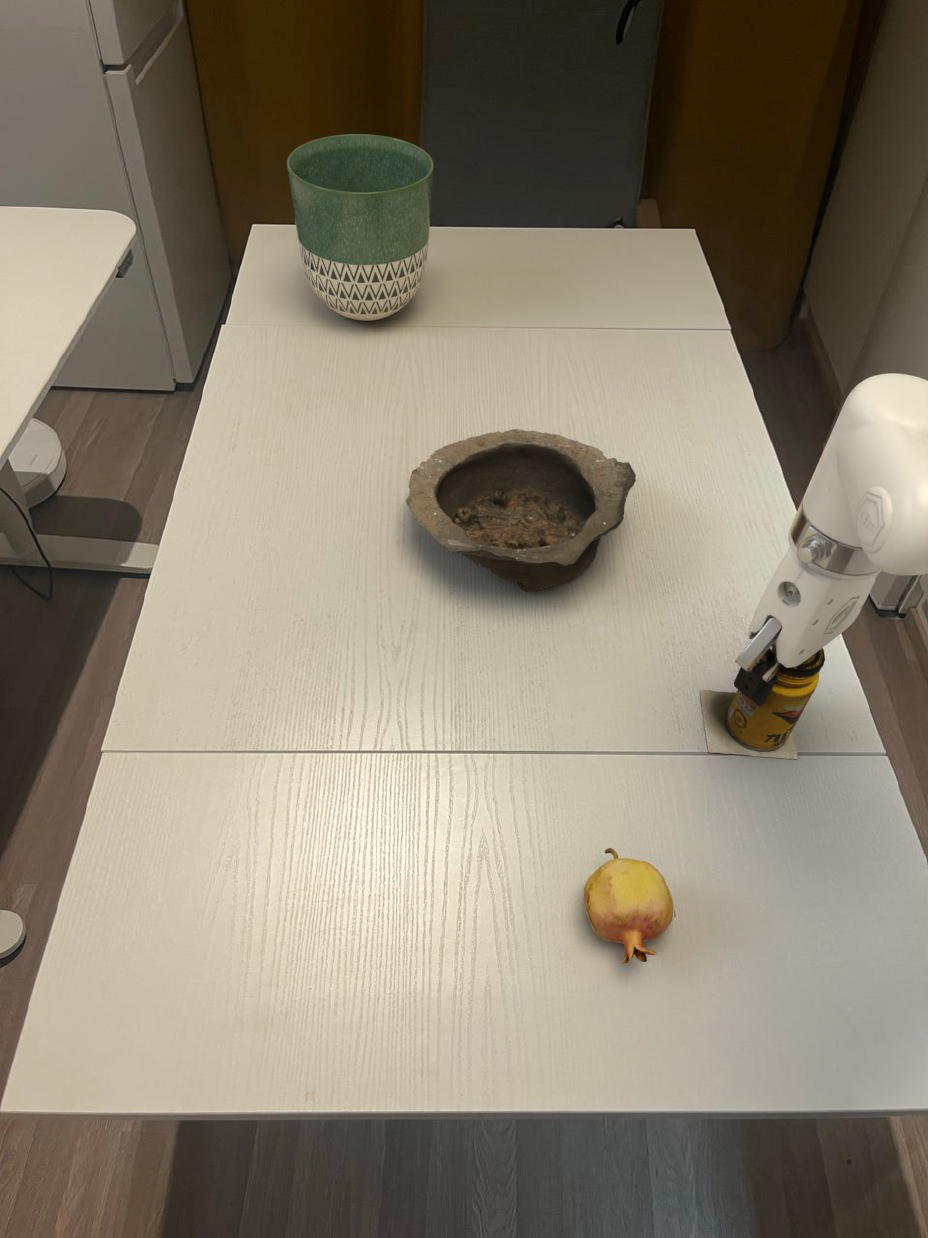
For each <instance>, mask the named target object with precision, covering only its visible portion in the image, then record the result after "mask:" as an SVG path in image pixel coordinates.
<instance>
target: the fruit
mask: <svg viewBox="0 0 928 1238" xmlns="http://www.w3.org/2000/svg"><path fill="white" fill-rule="evenodd" d="M607 854H611V855H612V856H613V858H612V859H610V860H608V861H606V862H605V863H603V864H602V865H600V866H599V867H598V868H597V869H596V870H595V871H594V872H593V873H592V874H591V875H590V876H589V877H588V878H587V880H586V882H585V884H584V887H583V904H584V909H585V913H586V916H587V918H588V921H589V924H590V926H591V929H592V931H593V932H594V933H595V935H596V936H597V937H598V938H600V939H601V940H603V941H608V942H611V943H616V944H623V946H624V958H623V959H622V960H621V961H620V964H621V965H623V964H625V965H626V964H629V962H631V961H632V959H633V958H634V956H635V958H636V959H637V960H638V961H640V962H642V963H646V962H648V956H655V955H657V952H656V951H653V950H650V949H648V948H645V947H644V943H643V942H648V941H651V940H654V939H655V938H657V937H659V936H660V935H662V934H663V933H664V932H666V931H667V929H668V928H669V926H670V925H671V923H672V921H673V917H674V900H673V896H672V893H671V892H670V890H669V887H668V885H667V882H666V879H665V878H664V876H663V875H662V874H661V872H660V871H659V870H658V869H657V868H656V867H655V866H654V865H652V864H651V863H650V862H648V861H644V860H640V859H633V858H625V857H623V858H622V857H619V855H618V852H617V851H616V850H615V849H614V848H611V847H608V848H606V849H605V850H604V855H607ZM647 955H648V956H647Z"/></svg>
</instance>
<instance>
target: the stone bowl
mask: <svg viewBox="0 0 928 1238" xmlns="http://www.w3.org/2000/svg"><path fill="white" fill-rule="evenodd" d="M636 477H637V475H636V473H635V471H634V469H633V467H632V465H631V463H630V461H629V462H628V461H627V462H625V461H624V462H622V461H619V460H618V459H617V458H615V457H611V458H607V457H606V456H605V454H604V451H602V450H601V449H599V448H598V447H595V446H592V445H588V444H585V443H583V442H580V441H578V440H574V439H570V438H568V437H566V436H562V435H560V434H557V433H550V432H547V431H546V432H541V431H536V430H524V429H521V428H520V429H518V428H515V429H509V430H505V431H503V432H502V431H495V432H487V433H484V434H480V435H475V436H470V437H467V438H466V439H463V440H458V441H455V442H452V443H450V444H447V445H444V446H442V447H440V448H438V449H436V450H434V452H433V453H432V454H430V455H429V458H427V459H426V461H421V462H420V463H419V466H417V467H416V468H415V469H413V470H412V471H411V474H410V477H409V480H408V488H409V493H408V496H407V498H406V499H405V503H406V506H407V507H408V509H409V511H410V512H411V513H412V515H413V516H414V518H415V520H416V521H417V523H418V524H419V526H420V527H421V528H422V529H424V530H426V531H428V533H429V534H430V535H431V536H432V537H433V538H434V539H435V540H436V541H437V542H438V543H439V545H441V546H443V547H445V548H446V549H447V551H448V552H449V553H455V554H456V553H457V554H462V555H463V556H464V557H465V558H467V559H468V560H470V561H472V562H473V563H474V564H475V565H477V566H480V567H481V568H483V569H487V570H489V571H490V572H491V573H493V574H495V575H496V576H497V577H499V578H501V579H503V580H506V581H513V582H515V583H516V584H517V586H518V587H519V588H520V589H521V590H522V591H523V592H536V591H539V590H542V589H545V588H551V587H554V586H557V585H561V584H564V583H569V582H570V581H573V579H575V577H577V575H579V574H582V573H584V572H585V571H586V570H587V569H589V568H590V567H591V565H592V563H594V561H595V559H596V557H597V553H598V550H599V546H600V543H601V539H602V537H603V536H607V535H608V534H609V533H612V532H613V531H615V530H616V529H617V528H618V527H619V526H620V525H621V524H622V522H623V520H624V515H625V506H626V502H627V497H628V495H629V492H630V491H631V489H632V488H633V487H634V485H635V483H636V481H637V480H636Z"/></svg>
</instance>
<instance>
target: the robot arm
mask: <svg viewBox="0 0 928 1238" xmlns="http://www.w3.org/2000/svg"><path fill="white" fill-rule="evenodd" d="M818 460H819V461H818V462H817V465H816V467H815V469H814V472H813V474H812V477H811V479H810V481H809V483H808V486H807V488H806V490H805V493H804V495H803V497H802V499H801V502H800V504H799V507H798V508H797V511H796V513H795V515H794V517H793V520H792V522H791V525H790V527H789V529H788V534H787V537H788V543H789V547H788V549H787V551H786V553H785V555H784V556H783V558H782V560H781V561H780V563H779V564H778V567H777V568H776V570H775V572H774V574H773V575H772V577H771V579H770V581H769V582H768V584H767V586H766V588H765V590H764V592H763V594H762V596H761V597H760V600H759V602H758V604H757V606H756V608H755V611H754V612H753V615H752V617H751V620H750V623H749V627H748V631H747V635H748V638H749V640H750V642H749V643H748V644H747V645H746V647H744V649H743V650H742V651H741V653H739V655H738V656H737V657H736V659H735V661H734V662H735V664H737V665H738V666H739V667H740V668H739V670H738V672H737V674H736V677H735V679H734V681H733V686H734V688H736V689H737V690H739V691H740V692H741V693H742V694H743V695H745V696H746V697H747V698H749V699H750V700H751V701H753V702H754V703H755V704H756V705H757V706H762V705H763V704H765V703H766V701H767V699H768V697H769V695H770V693H771V691H772V689H773V687H774V685H775V683H776V681H777V679H778V677H777V676H776V675H775V674H776V672H777V671H778V670H779V668H780V667H781V665H782V664H783V665H784V666H785V667H787V668H791V667H796V666H798V665H800V664H801V663H803V662H804V661H806V660H807V659H808V658H810V657H811V656H812V655H814V654H815V653H816V652H818V651H819V650H820V649H822V648H823V649H824V647H826V646H827V645H828V644H829V643H831V642H832V641H834V640H835V639H836V638H837V637H838V636H840V635H841V634H843V632H845V631H846V630H847V629H848V628H849V627H851V625H852V624H854V622H855V621H856V620H857V619H858V617H859V615H860V613H861V611H862V609H863V607H864V605H865V603H866V601H867V599H868V598H869V595H870V593H871V591H872V589H873V586H874V585H875V583H876V580H877V578H878V576H879V574H880V573H882V572H884V573H886V574H889V575H893V576H901V577H908V576H909V577H910V576H922V575H928V380H927V379H925V378H923V377H918V376H915V375H911V374H905V373H894V372H891V373H889V372H888V373H882V374H876V375H871V376H870V377H868V378H865V379H864V380H862V381H861V382H859V383H858V384H857V385H855V386H854V388H853V389H851V391H850V393H849V394H847V397H846V399H845V401H844V403H843V405H842V408H841V410H840V412H839V415H838V416H837V418H836V421H835V423H834V425H833V427H832V430H831V433H830V435H829V437H828V440H827V442H826V444H825V446H824V449H823V451H822V453H821V456H820V458H819V459H818ZM767 650H769V651H770V652H771V653H772V654H774V655H775V656H776V657H775V658H774V660H773V661H772V662H771V664H770V665H768V664H767V663H766V662H764V661H763V660H762V659H761V657H762V656H763V655H764V654H765V653H766V651H767Z"/></svg>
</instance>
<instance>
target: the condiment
mask: <svg viewBox="0 0 928 1238" xmlns="http://www.w3.org/2000/svg"><path fill="white" fill-rule="evenodd" d="M775 657H776V656H775V655H774V654H772V653H771V652H770V651H769V650H767V651H766V653H765V654H764V655H763V656H762V657H761V659H762V660H763V661H764V662H766V663H767V664H768V665H770V664H771V662H772V661H773V660H774V658H775ZM825 662H826V655H825V649H824V647H823V648H822V649H820V650H819V651H818V652H816V653H815V654H814V655H812V656H811V657H810V658H808V659H807V660H806V661H804V662H803V663H801V664H800V665H798V666H796V667H791V668H787V667H785V666H784V665H783V664H782V665H781V667H780V668H779V670H778V671H777V672H776V674H775V675H776V676H777V677H778V679H777V681H776V683H775V685H774V687H773V689H772V691H771V693H770V695H769V697H768V699H767V701H766V703H765V704H763V705H762V706H757V705H756V704H755V703H754V702H753V701H751V700H750V699H749V698H747V697H746V696H745V695H743V694H742V693H741V692H740V691H739V690H738V689H737V690H736V691H733V692H732V691H717V690H710V689H699V694H700V695H699V696H700V701H701V702H700V703H701V709H702V710H701V711H702V716H703V717H702V718H703V727H704V731H705V738H706V744H707V749H708V753H712V754H723V755H724V754H727V755H728V754H730V755H742V756H750V757H751V756H752V757H759V758H774V759H775V758H776V759H785V760H786V759H789V760H796V759H799V755H798V750H797V747H796V743H795V739H794V733H793V730H794V728H795V726H796V725H797V723H798V721H799V720H800V717H801V716H802V714H803V712H804V710H805V708H806V706H807V705H808V704H809V701H810V700H811V698H812V696H813V694H814V693H815V691H816V688H818V684H819V682H820V672H821V670H822V668H823V667H824V665H825Z"/></svg>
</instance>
